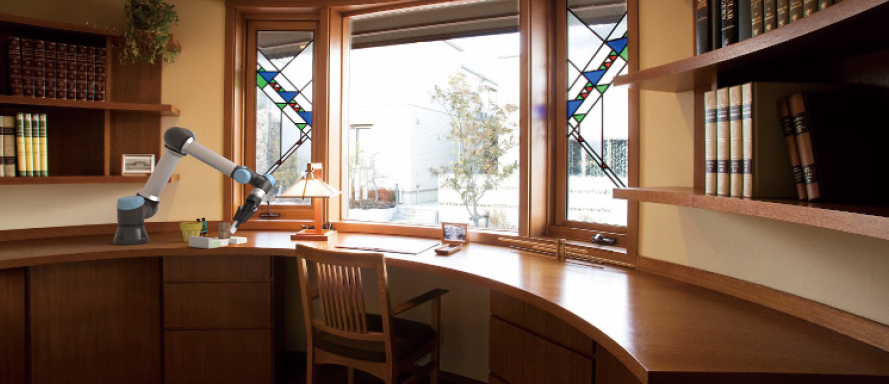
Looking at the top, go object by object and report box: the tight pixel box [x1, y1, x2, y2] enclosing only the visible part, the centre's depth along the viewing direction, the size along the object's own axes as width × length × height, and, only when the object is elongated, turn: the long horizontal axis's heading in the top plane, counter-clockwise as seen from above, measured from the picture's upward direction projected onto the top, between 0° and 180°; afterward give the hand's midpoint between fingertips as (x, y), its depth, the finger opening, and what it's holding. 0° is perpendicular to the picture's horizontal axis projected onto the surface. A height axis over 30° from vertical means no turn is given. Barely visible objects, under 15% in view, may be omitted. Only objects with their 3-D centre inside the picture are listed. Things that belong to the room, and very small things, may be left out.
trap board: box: [188, 235, 248, 249], centre depth 253 cm, size 23×14×5 cm, turn 154°
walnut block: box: [217, 222, 231, 239], centre depth 255 cm, size 4×4×8 cm
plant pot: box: [179, 221, 202, 243], centre depth 262 cm, size 10×10×10 cm
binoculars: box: [196, 217, 209, 237], centre depth 280 cm, size 9×11×10 cm
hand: (230, 232), depth 258 cm, fingers closed
